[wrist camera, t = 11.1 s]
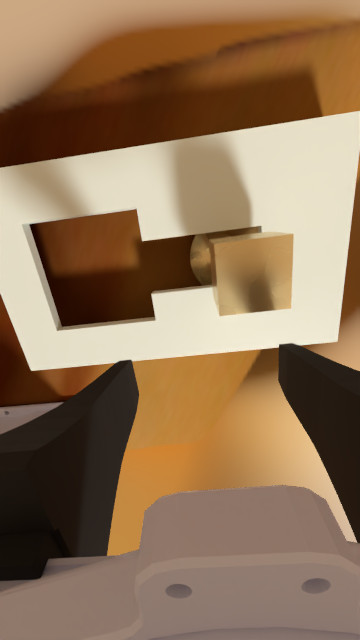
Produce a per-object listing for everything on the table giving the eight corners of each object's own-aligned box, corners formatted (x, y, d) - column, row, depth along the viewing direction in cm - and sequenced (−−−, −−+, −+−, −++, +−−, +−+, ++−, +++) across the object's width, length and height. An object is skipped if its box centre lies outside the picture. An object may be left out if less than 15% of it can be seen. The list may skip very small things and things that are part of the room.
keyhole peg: (194, 294, 21) (197, 340, 13) (185, 220, 19) (183, 218, 11) (264, 286, 21) (315, 329, 12) (264, 209, 19) (325, 198, 10)
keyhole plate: (54, 348, 24) (31, 370, 20) (-2, 184, 19) (-47, 175, 15) (313, 322, 22) (337, 341, 18) (327, 134, 17) (364, 110, 13)
